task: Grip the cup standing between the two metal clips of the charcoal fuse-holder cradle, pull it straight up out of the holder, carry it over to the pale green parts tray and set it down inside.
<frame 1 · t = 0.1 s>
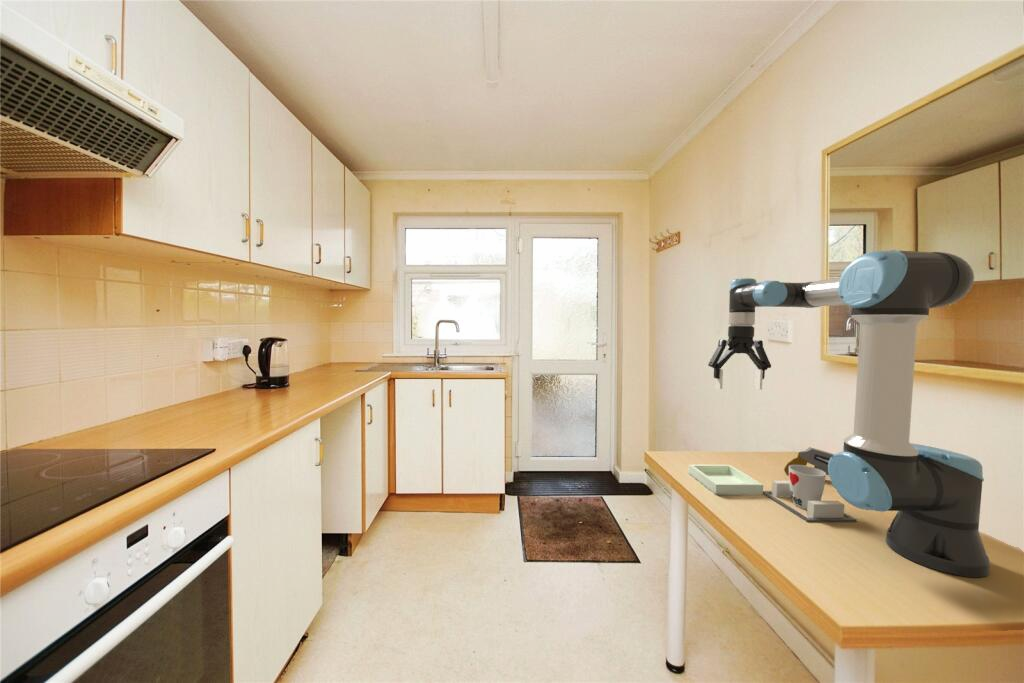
hand: (738, 388, 131), 28 cm above the table, fingers open, 13 cm apart
holder: (805, 505, 107), on the table
gun: (835, 482, 125), on the table
cup: (805, 506, 107), resting in holder
tray: (723, 483, 121), on the table
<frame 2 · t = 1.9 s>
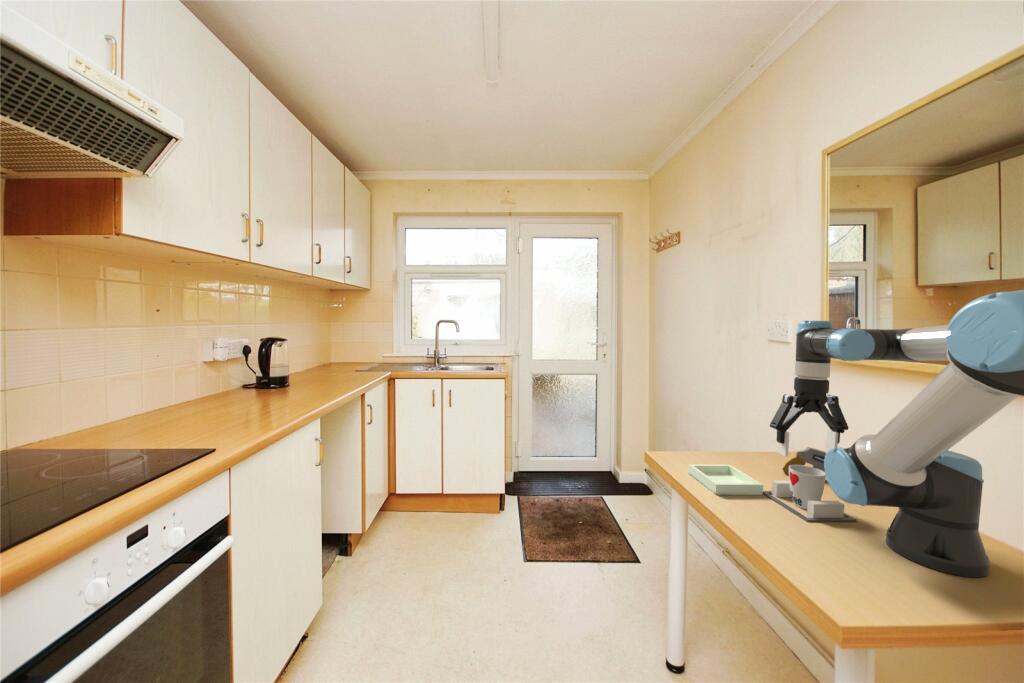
hand: (807, 455, 106), 14 cm above the table, fingers open, 13 cm apart
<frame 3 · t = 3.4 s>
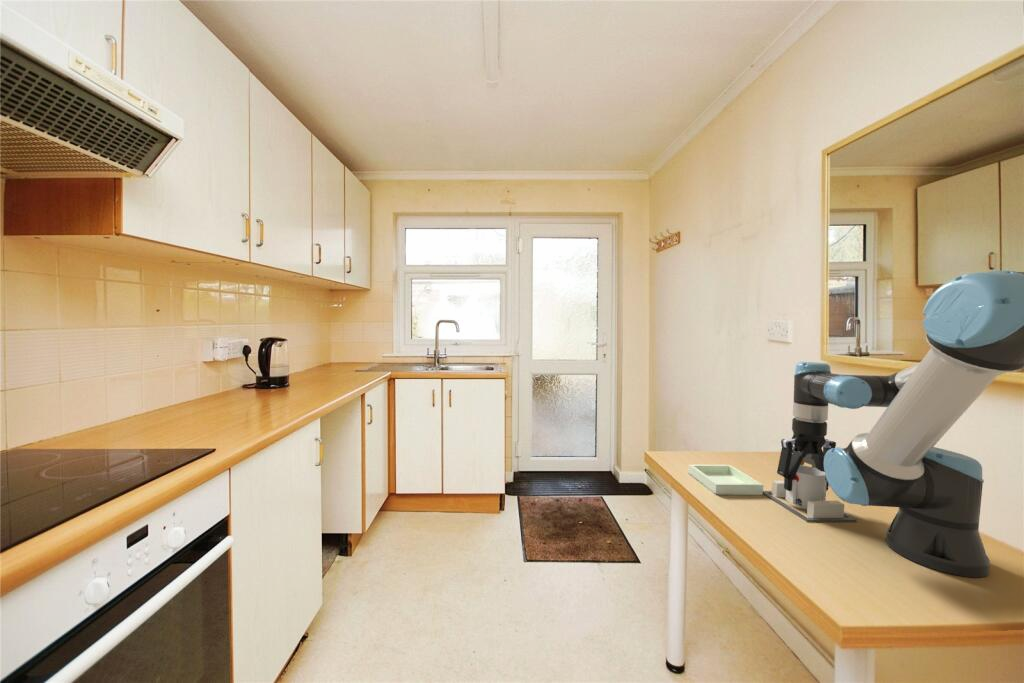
hand: (805, 501, 107), 1 cm above the table, fingers closed on cup, 8 cm apart
cup: (805, 506, 107), resting in holder, touching gripper
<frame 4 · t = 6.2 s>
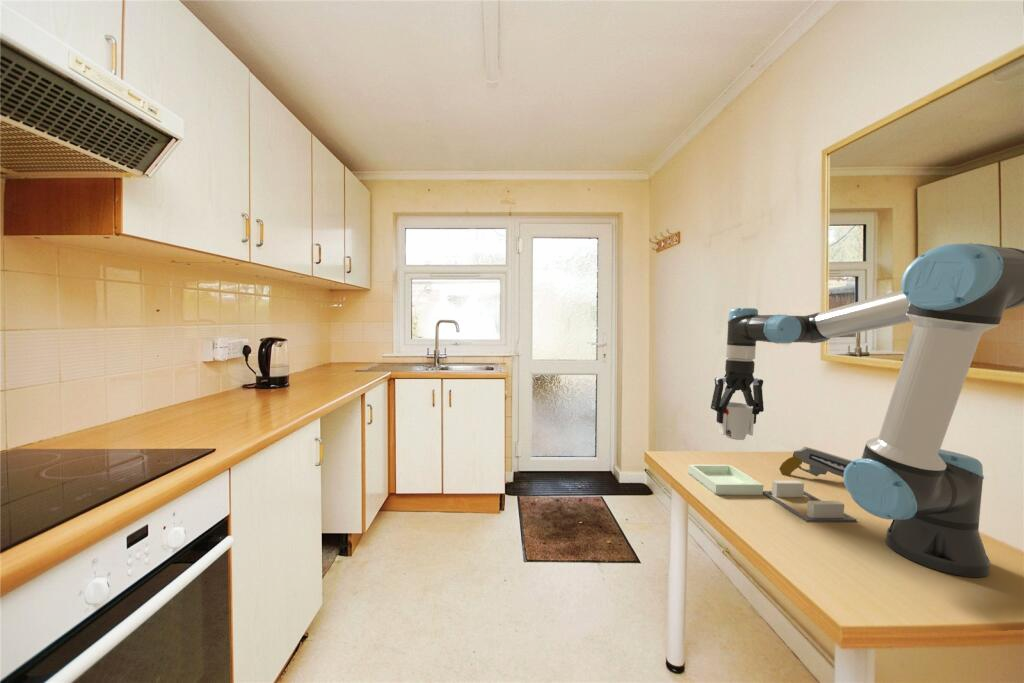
hand: (735, 433, 119), 16 cm above the table, fingers closed on cup, 8 cm apart
cup: (735, 438, 119), point 15 cm above the table, touching gripper
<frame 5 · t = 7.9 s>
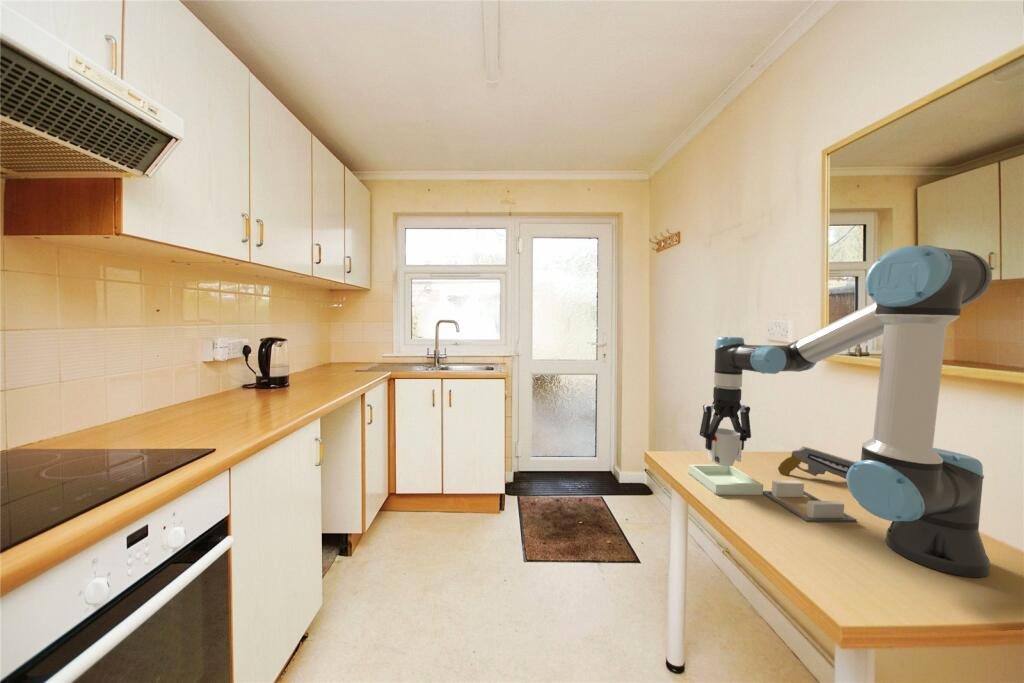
hand: (723, 459, 121), 7 cm above the table, fingers closed on cup, 8 cm apart
cup: (723, 464, 121), point 6 cm above the table, touching gripper
when the fingers open (3 cm above the table, at t = 9.1 s): cup drops 2 cm, resting on tray.
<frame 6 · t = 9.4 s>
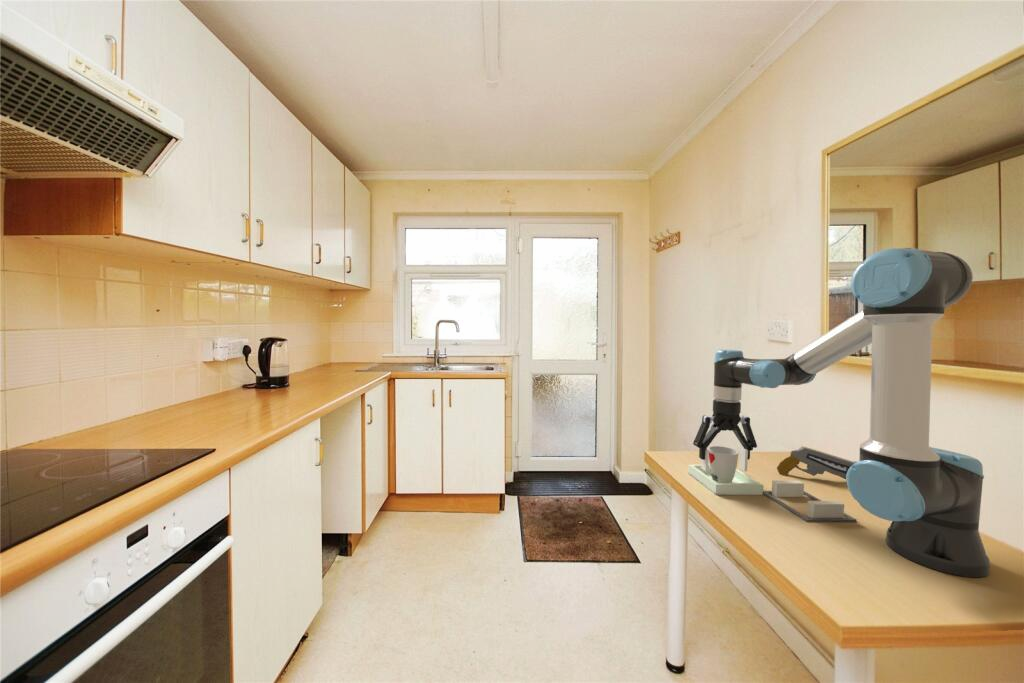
hand: (723, 469, 121), 4 cm above the table, fingers open, 11 cm apart
cup: (721, 482, 121), resting on tray
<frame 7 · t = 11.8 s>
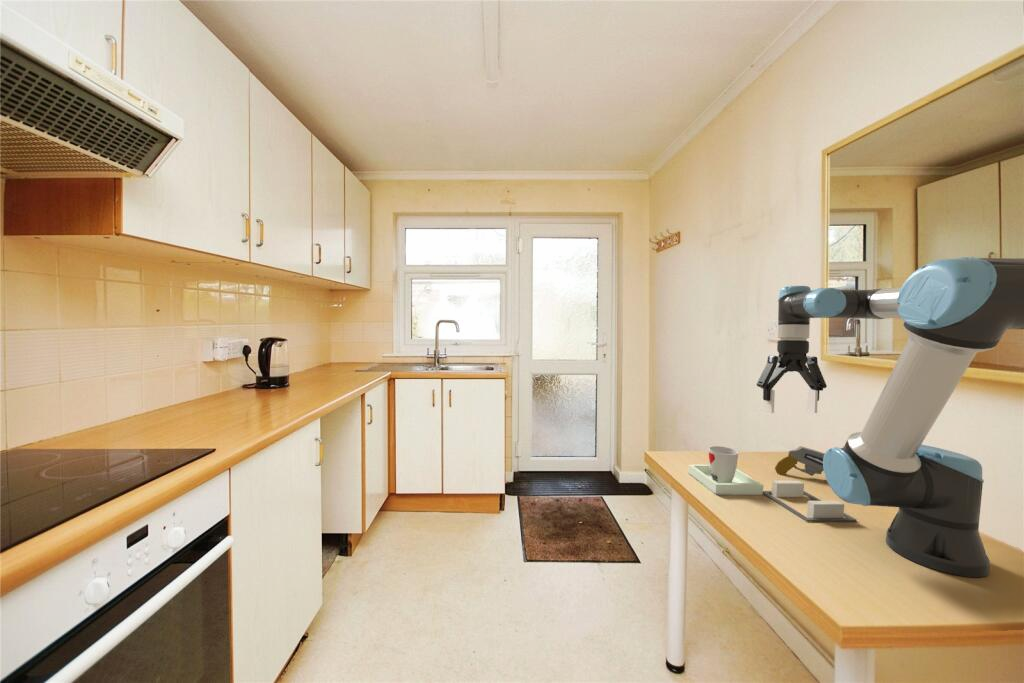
hand: (790, 412, 114), 24 cm above the table, fingers open, 13 cm apart
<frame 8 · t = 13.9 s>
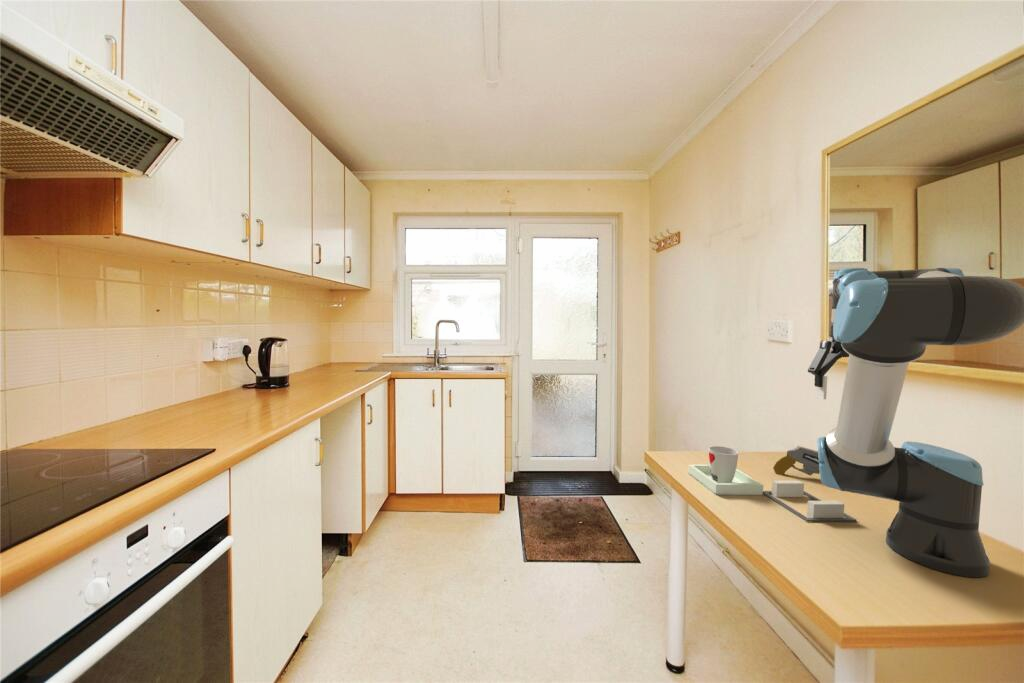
hand: (843, 398, 111), 29 cm above the table, fingers open, 13 cm apart
at the end: cup inside the target area on the tray (0.5 cm from its centre), point 0.3 cm above the tray's base; cup tilted 0°; cup touching tray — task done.
